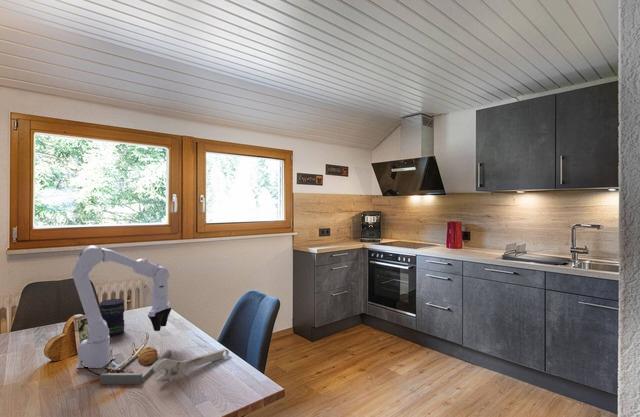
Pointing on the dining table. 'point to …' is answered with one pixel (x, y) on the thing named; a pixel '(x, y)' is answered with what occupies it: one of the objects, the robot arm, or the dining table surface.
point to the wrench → (185, 364)
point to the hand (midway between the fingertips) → (160, 328)
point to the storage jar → (113, 315)
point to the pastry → (147, 356)
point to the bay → (129, 374)
